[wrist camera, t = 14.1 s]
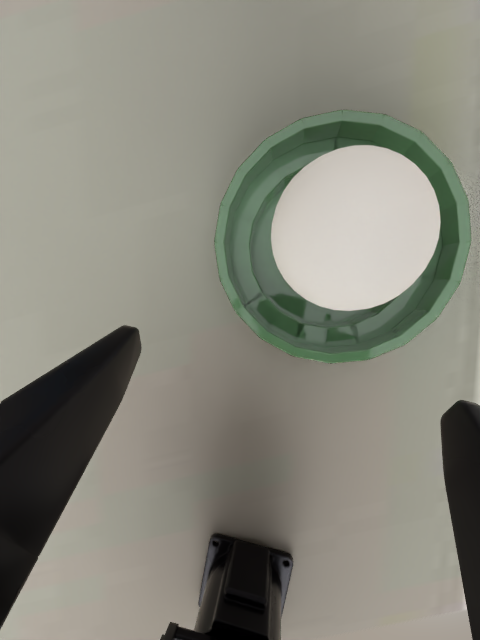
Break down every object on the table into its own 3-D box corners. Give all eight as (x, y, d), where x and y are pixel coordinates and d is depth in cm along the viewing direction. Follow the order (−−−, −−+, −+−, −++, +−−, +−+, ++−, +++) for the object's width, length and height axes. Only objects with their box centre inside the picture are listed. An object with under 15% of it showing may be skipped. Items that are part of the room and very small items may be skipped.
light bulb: (353, 182, 20) (430, 64, 10) (394, 276, 21) (515, 265, 10) (259, 229, 21) (234, 172, 11) (300, 318, 22) (315, 349, 11)
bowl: (405, 366, 22) (433, 385, 17) (213, 328, 23) (198, 337, 19) (457, 159, 20) (502, 125, 16) (246, 133, 21) (237, 97, 17)
